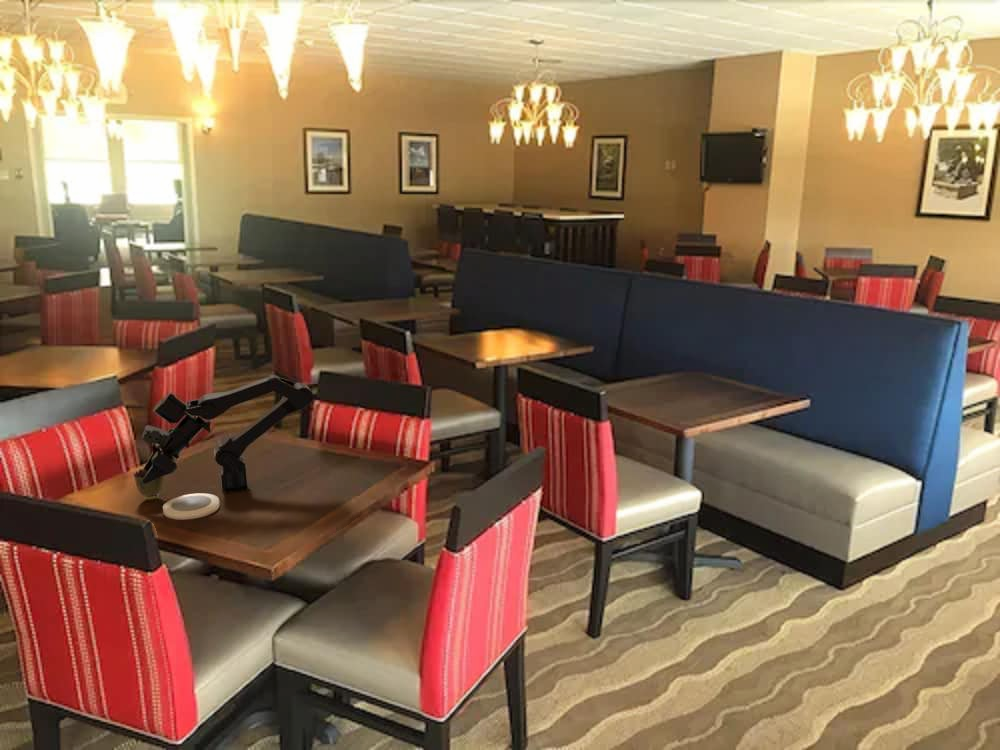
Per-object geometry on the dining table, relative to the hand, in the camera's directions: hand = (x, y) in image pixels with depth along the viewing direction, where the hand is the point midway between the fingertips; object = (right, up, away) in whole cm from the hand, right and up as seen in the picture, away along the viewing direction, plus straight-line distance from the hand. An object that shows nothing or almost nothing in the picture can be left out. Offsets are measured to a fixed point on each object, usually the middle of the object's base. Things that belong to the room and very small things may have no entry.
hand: (143, 476), depth 219 cm
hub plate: (+15, -8, -4) cm, 17 cm away
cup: (+1, -7, +2) cm, 7 cm away
